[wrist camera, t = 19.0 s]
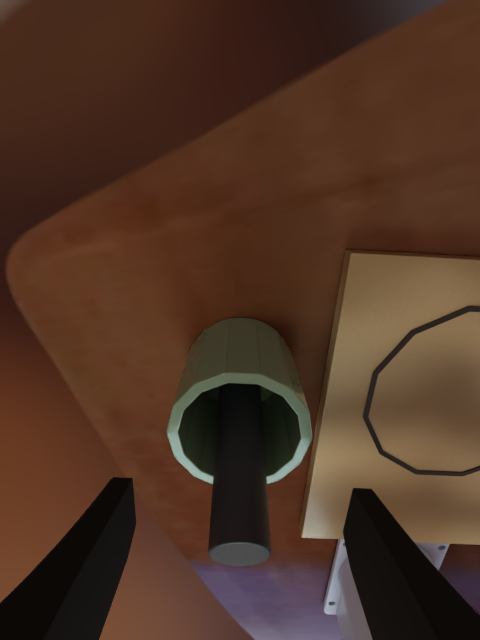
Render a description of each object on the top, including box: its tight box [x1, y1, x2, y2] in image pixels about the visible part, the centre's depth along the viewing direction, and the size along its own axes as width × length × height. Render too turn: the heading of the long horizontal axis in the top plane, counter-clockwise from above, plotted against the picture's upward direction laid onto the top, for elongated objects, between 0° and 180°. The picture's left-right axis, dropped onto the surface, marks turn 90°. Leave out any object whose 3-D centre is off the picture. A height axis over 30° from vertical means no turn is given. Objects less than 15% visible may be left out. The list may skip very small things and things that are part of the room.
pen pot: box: [166, 318, 312, 484], centre depth 17 cm, size 6×6×6 cm
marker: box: [208, 383, 271, 566], centre depth 15 cm, size 2×2×9 cm
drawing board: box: [299, 249, 480, 545], centre depth 20 cm, size 20×18×1 cm
